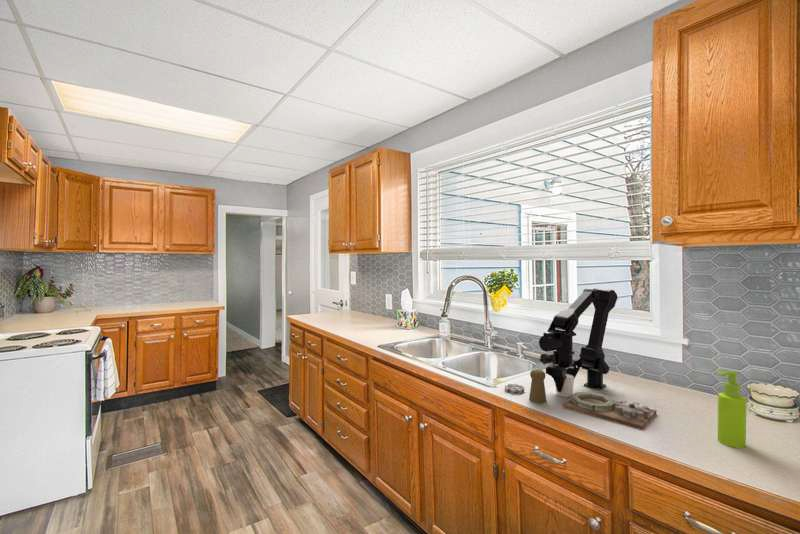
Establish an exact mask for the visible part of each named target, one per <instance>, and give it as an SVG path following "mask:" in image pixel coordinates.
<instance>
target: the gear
mask: <svg viewBox="0 0 800 534" xmlns="http://www.w3.org/2000/svg"><path fill="white" fill-rule="evenodd" d="M505 389H506V390H505ZM504 390H505V392H506V391H507V392H506V393H510V392H511V393H515V394H518V393H522V394H523V392H524V391H525V387H524V385H521V384H520V385H519V384H517V383H514V384H513V383H507V384H505V385H504ZM511 393H510V394H511ZM524 393H525V392H524Z"/></svg>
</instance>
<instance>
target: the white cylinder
mask: <svg viewBox="0 0 800 534" xmlns="http://www.w3.org/2000/svg"><path fill="white" fill-rule="evenodd" d="M566 375H567V377H566V380H565V383H564V385H563V388H562V391H561V392H558V391H557V388H556V385H554V386H555V394H556V395H557V396H560V397H565V398H566V397H567V398H568V397H569V398H571V395H573V394H574V393H573V392H574V383H575V379H574V376H572V375H570V374H566Z"/></svg>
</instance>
